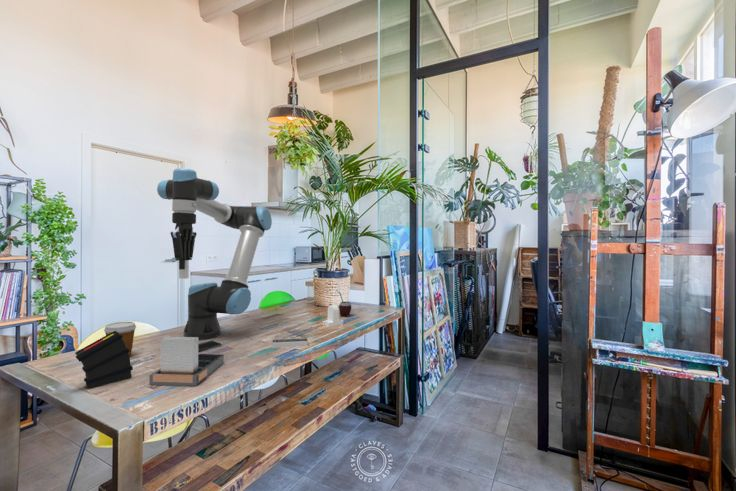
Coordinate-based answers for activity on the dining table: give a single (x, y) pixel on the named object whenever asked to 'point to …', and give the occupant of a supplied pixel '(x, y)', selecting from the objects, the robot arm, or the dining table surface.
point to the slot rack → (205, 368)
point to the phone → (208, 345)
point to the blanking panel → (179, 355)
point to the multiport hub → (289, 342)
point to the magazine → (105, 360)
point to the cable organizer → (333, 317)
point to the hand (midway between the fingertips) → (183, 278)
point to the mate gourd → (344, 308)
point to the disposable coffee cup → (123, 332)
